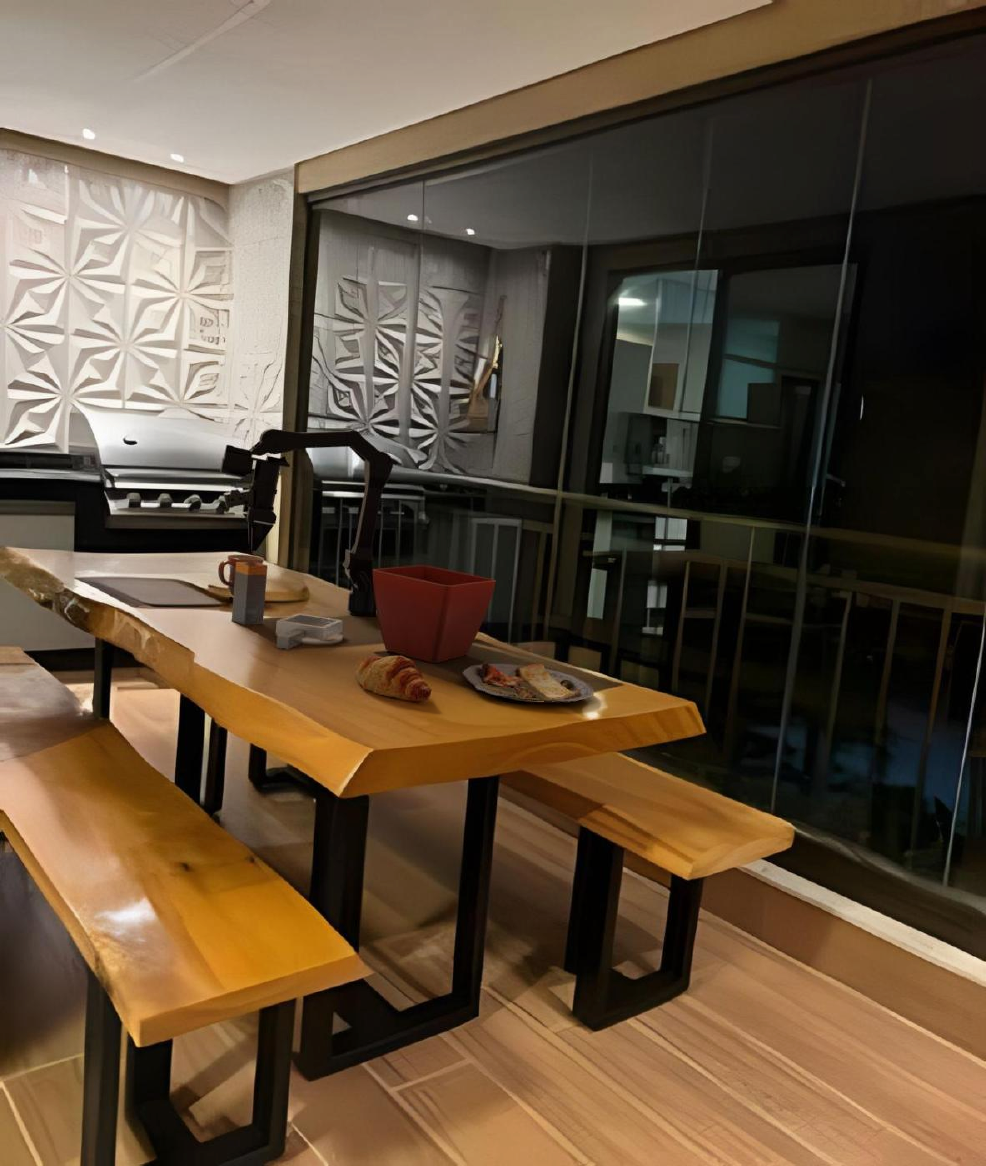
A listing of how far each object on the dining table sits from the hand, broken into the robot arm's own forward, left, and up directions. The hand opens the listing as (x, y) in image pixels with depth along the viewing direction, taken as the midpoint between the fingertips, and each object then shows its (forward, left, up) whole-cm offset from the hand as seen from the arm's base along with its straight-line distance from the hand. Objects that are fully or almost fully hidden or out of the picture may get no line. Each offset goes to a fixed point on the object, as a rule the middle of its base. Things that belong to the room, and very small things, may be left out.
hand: (252, 548), depth 227 cm
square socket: (-12, +30, -14) cm, 36 cm away
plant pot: (-37, +36, -15) cm, 54 cm away
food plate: (-52, +61, -15) cm, 82 cm away
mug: (+3, -11, -14) cm, 18 cm away
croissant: (-26, +66, -15) cm, 73 cm away
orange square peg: (0, +16, -14) cm, 22 cm away
